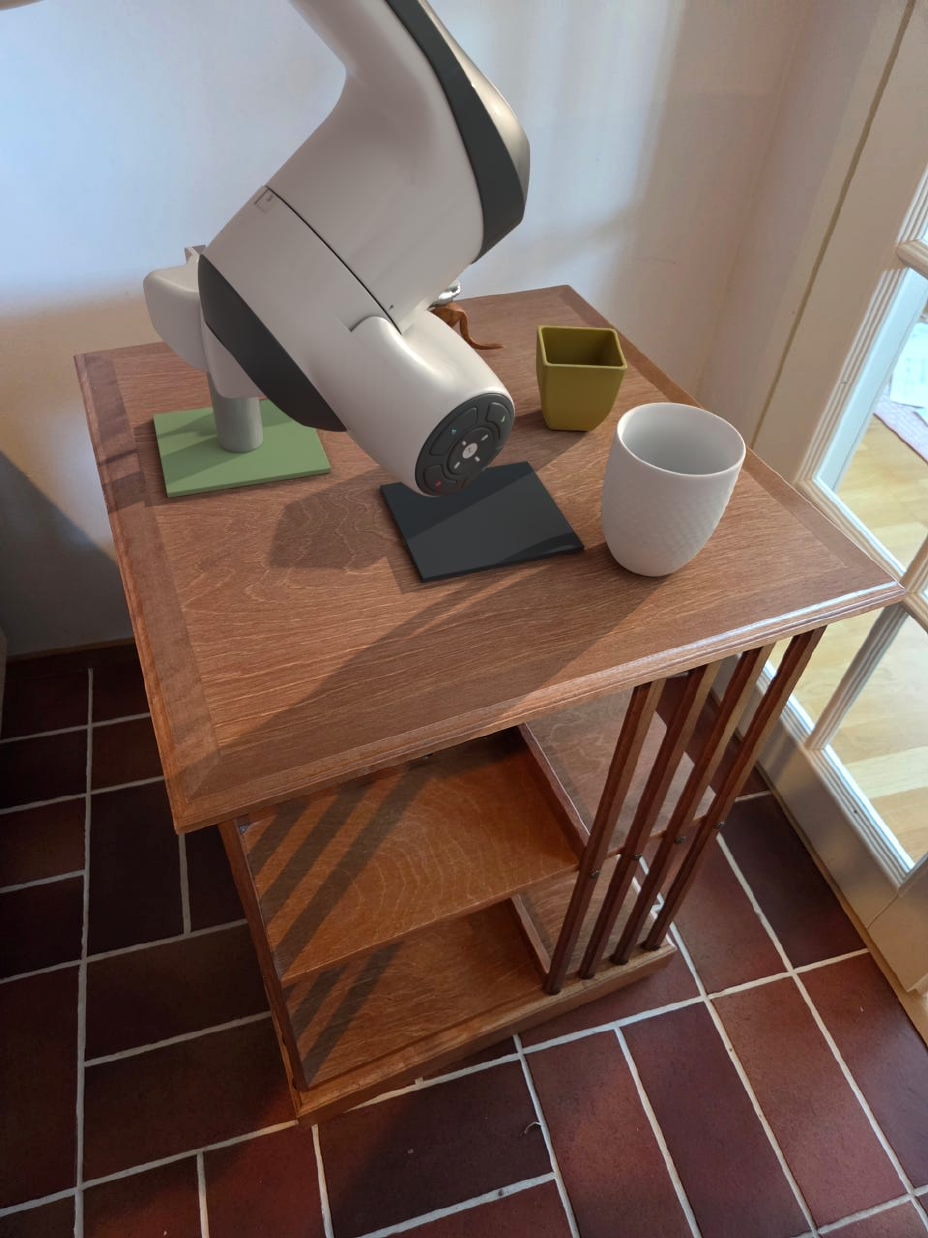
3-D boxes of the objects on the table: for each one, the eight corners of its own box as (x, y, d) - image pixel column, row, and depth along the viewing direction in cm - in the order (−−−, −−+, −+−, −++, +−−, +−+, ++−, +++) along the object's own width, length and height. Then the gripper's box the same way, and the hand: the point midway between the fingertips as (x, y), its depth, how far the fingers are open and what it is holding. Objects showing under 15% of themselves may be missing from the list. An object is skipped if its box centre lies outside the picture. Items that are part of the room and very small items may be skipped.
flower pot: (526, 396, 97) (536, 323, 90) (600, 399, 97) (615, 327, 91) (532, 439, 91) (543, 364, 84) (611, 442, 91) (628, 368, 85)
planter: (267, 449, 85) (256, 357, 78) (223, 456, 84) (206, 364, 77) (258, 425, 88) (246, 334, 81) (215, 432, 87) (198, 340, 80)
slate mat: (422, 583, 74) (422, 578, 74) (380, 489, 83) (379, 484, 83) (583, 550, 79) (585, 546, 78) (527, 465, 87) (527, 460, 87)
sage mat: (168, 498, 80) (166, 493, 80) (153, 419, 89) (152, 414, 88) (331, 472, 84) (331, 467, 84) (302, 399, 93) (301, 395, 93)
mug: (580, 489, 85) (603, 374, 76) (686, 495, 86) (722, 382, 76) (594, 591, 75) (623, 472, 65) (714, 597, 75) (761, 480, 66)
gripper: (475, 249, 56) (378, 181, 64) (180, 310, 48) (109, 222, 56) (469, 336, 61) (379, 262, 69) (199, 405, 53) (131, 312, 60)
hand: (256, 245), depth 62 cm, fingers open, 8 cm apart
